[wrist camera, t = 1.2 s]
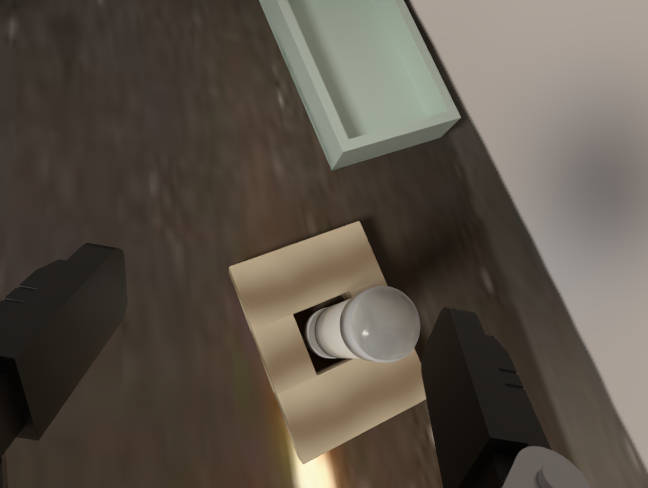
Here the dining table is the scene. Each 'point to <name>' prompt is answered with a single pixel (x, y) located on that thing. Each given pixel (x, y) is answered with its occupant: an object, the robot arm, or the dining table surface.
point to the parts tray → (361, 75)
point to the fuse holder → (290, 351)
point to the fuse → (365, 327)
